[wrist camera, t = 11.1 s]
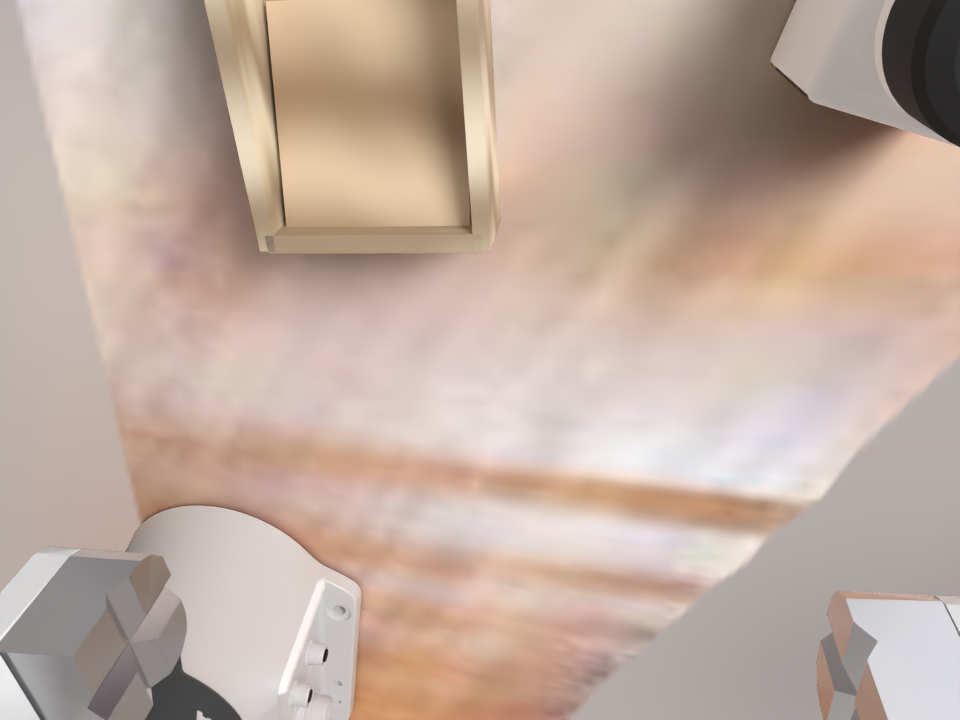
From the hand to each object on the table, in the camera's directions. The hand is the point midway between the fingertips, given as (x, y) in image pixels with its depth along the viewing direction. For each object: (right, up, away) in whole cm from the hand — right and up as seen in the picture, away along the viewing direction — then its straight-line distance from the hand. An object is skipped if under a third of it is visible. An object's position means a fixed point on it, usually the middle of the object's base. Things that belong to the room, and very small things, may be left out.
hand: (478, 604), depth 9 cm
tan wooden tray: (-4, +17, +23) cm, 29 cm away
